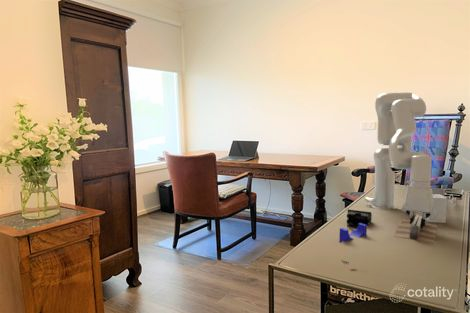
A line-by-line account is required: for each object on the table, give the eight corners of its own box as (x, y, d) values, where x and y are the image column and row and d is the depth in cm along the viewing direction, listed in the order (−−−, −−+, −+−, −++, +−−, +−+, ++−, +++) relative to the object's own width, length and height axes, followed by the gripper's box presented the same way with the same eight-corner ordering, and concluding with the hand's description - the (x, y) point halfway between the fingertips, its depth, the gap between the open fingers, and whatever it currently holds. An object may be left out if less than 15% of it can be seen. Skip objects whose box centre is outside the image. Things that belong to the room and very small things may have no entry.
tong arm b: (420, 236, 133) (420, 227, 133) (415, 235, 134) (415, 226, 134) (424, 222, 149) (424, 214, 148) (419, 221, 150) (420, 213, 149)
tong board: (433, 247, 127) (434, 230, 126) (393, 239, 135) (393, 224, 134) (437, 228, 147) (438, 213, 146) (402, 222, 155) (403, 208, 154)
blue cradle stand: (357, 235, 141) (357, 221, 140) (366, 239, 137) (366, 225, 136) (336, 241, 135) (336, 227, 134) (345, 245, 131) (345, 230, 130)
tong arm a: (413, 234, 134) (413, 226, 134) (408, 234, 136) (408, 225, 135) (419, 221, 150) (420, 213, 149) (415, 220, 151) (415, 213, 150)
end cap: (371, 224, 153) (371, 210, 152) (369, 229, 147) (369, 215, 146) (348, 221, 158) (348, 207, 157) (345, 226, 152) (345, 212, 151)
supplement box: (445, 225, 149) (447, 198, 148) (427, 225, 151) (429, 197, 149) (439, 220, 157) (441, 194, 155) (422, 219, 158) (423, 193, 156)
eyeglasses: (458, 209, 174) (459, 200, 173) (417, 206, 180) (418, 197, 179) (450, 201, 188) (451, 192, 188) (413, 199, 195) (414, 190, 194)
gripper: (396, 183, 141) (394, 225, 144) (442, 188, 132) (439, 233, 135) (399, 180, 147) (397, 220, 150) (443, 184, 138) (440, 227, 141)
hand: (417, 226), depth 142 cm, fingers open, 2 cm apart
